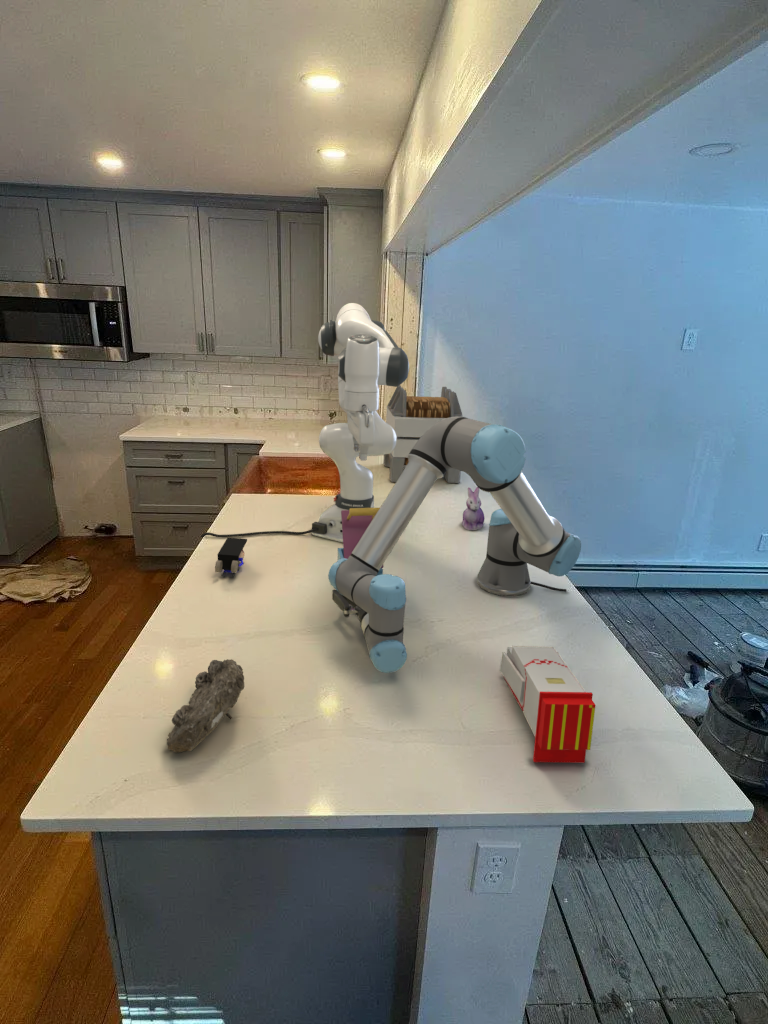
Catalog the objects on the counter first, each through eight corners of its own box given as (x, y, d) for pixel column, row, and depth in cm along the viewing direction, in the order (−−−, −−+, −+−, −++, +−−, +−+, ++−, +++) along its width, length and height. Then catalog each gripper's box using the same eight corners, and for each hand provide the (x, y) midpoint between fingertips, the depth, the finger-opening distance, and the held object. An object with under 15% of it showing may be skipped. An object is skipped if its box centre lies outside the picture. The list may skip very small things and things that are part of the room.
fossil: (192, 660, 117) (244, 628, 112) (224, 691, 120) (276, 661, 115) (142, 746, 98) (202, 712, 93) (182, 779, 101) (242, 748, 96)
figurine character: (238, 584, 162) (249, 557, 175) (236, 562, 158) (247, 536, 172) (215, 584, 161) (227, 556, 175) (212, 561, 158) (225, 535, 171)
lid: (341, 511, 150) (345, 502, 142) (378, 510, 152) (384, 501, 144) (344, 570, 146) (349, 564, 138) (382, 568, 148) (389, 562, 140)
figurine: (470, 532, 203) (474, 493, 198) (454, 523, 212) (457, 484, 207) (491, 529, 208) (495, 490, 202) (474, 520, 216) (478, 482, 211)
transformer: (382, 463, 289) (386, 382, 275) (445, 464, 293) (451, 384, 279) (390, 482, 257) (394, 392, 243) (460, 483, 261) (468, 394, 247)
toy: (549, 628, 125) (605, 700, 96) (544, 683, 128) (596, 770, 99) (495, 627, 125) (534, 699, 95) (491, 683, 128) (527, 769, 98)
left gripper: (381, 409, 134) (379, 465, 139) (366, 396, 153) (365, 446, 158) (355, 409, 133) (353, 466, 138) (343, 395, 152) (342, 446, 157)
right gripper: (327, 639, 130) (318, 594, 151) (423, 632, 135) (401, 589, 155) (328, 611, 128) (319, 568, 148) (425, 605, 132) (403, 564, 153)
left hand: (359, 455), depth 148 cm, fingers open, 8 cm apart
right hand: (361, 579), depth 152 cm, fingers closed on chest, 10 cm apart
